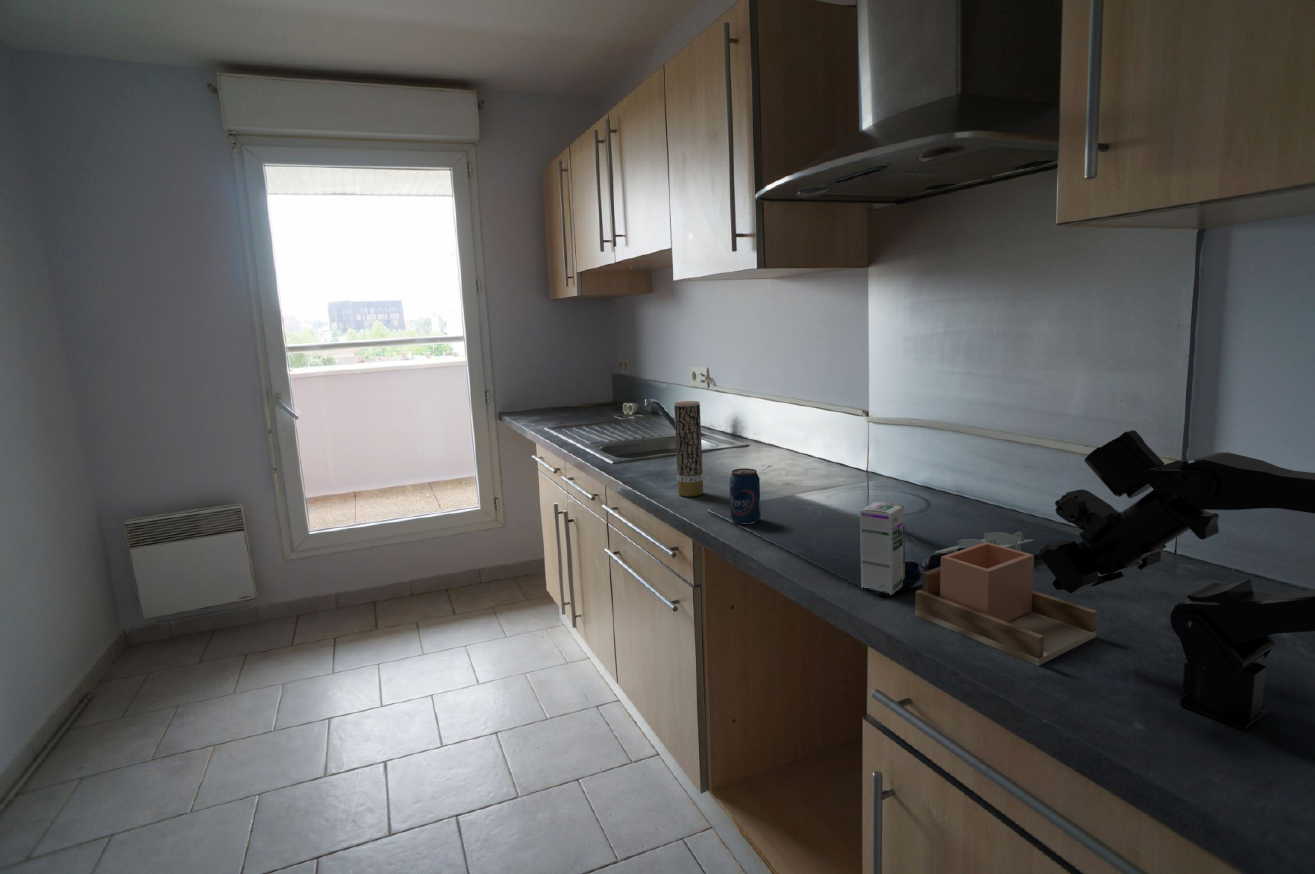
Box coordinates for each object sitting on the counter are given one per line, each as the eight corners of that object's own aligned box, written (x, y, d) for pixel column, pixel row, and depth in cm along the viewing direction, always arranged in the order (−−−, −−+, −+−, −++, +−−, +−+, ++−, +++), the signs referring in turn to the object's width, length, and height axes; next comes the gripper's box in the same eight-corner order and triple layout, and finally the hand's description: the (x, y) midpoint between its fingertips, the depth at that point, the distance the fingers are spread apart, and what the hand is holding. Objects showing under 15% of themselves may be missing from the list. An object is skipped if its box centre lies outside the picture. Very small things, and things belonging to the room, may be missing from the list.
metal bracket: (1043, 528, 134) (987, 542, 127) (1050, 558, 133) (994, 574, 127) (981, 530, 147) (927, 543, 140) (987, 558, 146) (933, 572, 140)
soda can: (729, 525, 163) (727, 474, 161) (732, 516, 170) (731, 467, 168) (759, 525, 162) (757, 474, 159) (761, 517, 168) (760, 467, 166)
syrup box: (892, 596, 120) (893, 513, 117) (859, 588, 123) (859, 508, 121) (905, 585, 124) (906, 504, 121) (873, 578, 128) (873, 500, 125)
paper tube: (679, 491, 196) (675, 401, 192) (703, 490, 195) (700, 400, 191) (677, 497, 189) (673, 404, 185) (702, 497, 189) (699, 404, 184)
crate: (1031, 611, 108) (1034, 555, 107) (986, 630, 103) (988, 571, 101) (984, 594, 115) (985, 541, 114) (939, 612, 110) (940, 556, 108)
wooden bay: (1095, 637, 102) (1098, 591, 101) (1038, 665, 95) (1040, 616, 94) (971, 593, 119) (972, 554, 118) (915, 615, 112) (915, 573, 111)
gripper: (1141, 466, 96) (1059, 527, 107) (1056, 482, 88) (976, 548, 99) (1204, 535, 91) (1110, 593, 102) (1120, 560, 82) (1027, 620, 93)
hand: (1056, 586), depth 99 cm, fingers closed
